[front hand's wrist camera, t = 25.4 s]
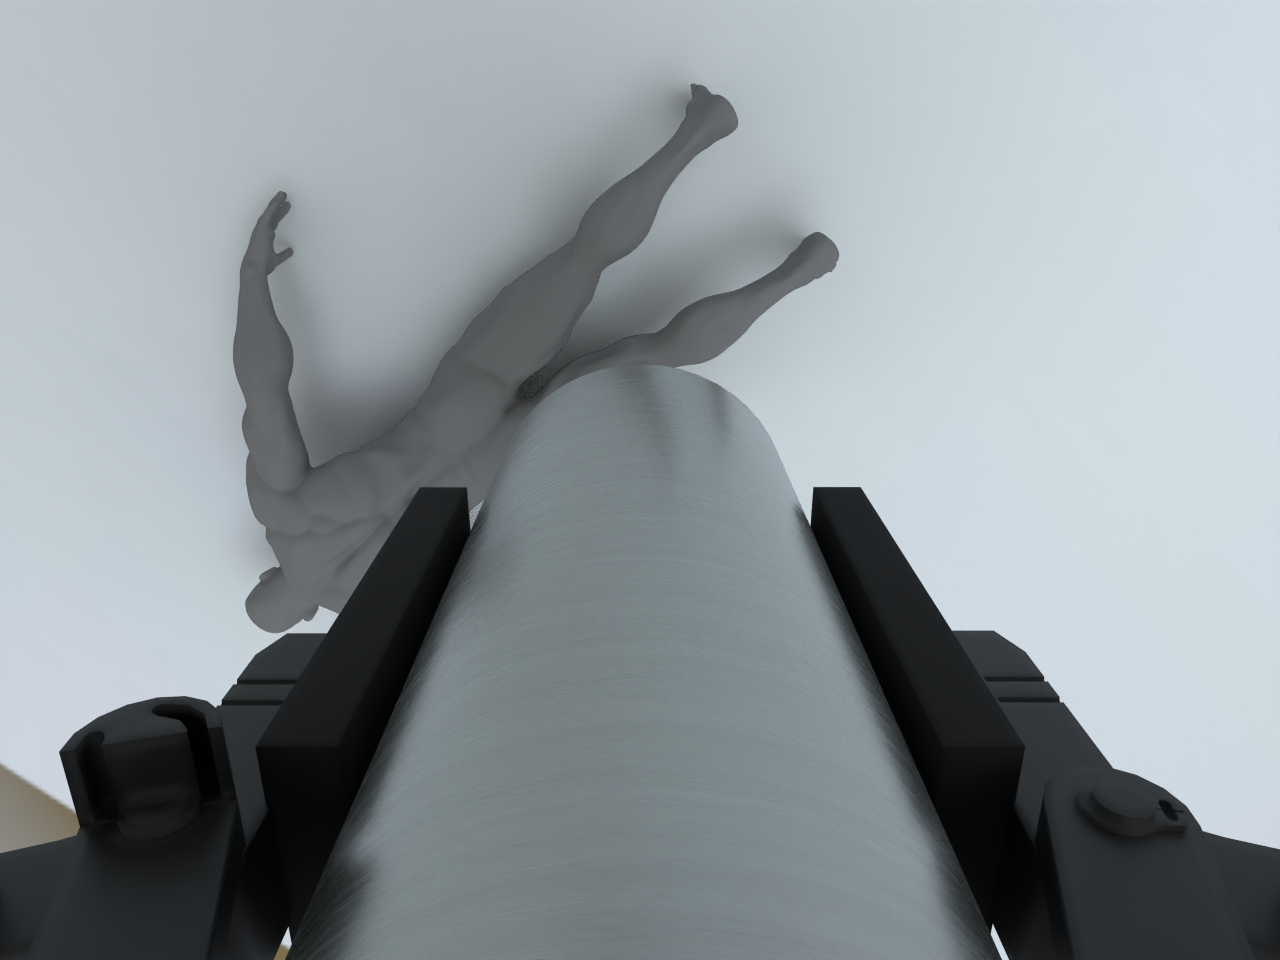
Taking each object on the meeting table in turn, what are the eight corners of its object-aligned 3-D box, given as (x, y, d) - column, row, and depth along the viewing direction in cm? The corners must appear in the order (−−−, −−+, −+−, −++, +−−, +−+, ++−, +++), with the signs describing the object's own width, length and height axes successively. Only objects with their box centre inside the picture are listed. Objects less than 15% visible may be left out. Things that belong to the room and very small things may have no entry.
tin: (545, 658, 18) (374, 1607, 6) (456, 407, 16) (-21, 1099, 5) (811, 595, 18) (1153, 1500, 6) (750, 328, 16) (1078, 880, 4)
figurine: (570, -81, 24) (71, 402, 27) (564, -137, 19) (-21, 439, 23) (923, 391, 28) (459, 754, 31) (979, 425, 24) (438, 838, 27)
